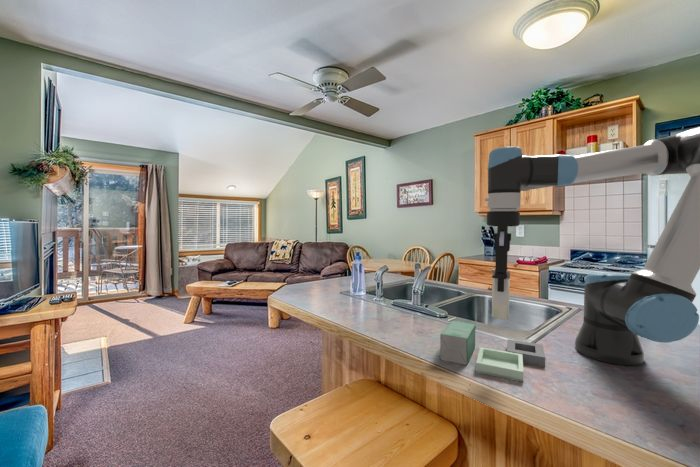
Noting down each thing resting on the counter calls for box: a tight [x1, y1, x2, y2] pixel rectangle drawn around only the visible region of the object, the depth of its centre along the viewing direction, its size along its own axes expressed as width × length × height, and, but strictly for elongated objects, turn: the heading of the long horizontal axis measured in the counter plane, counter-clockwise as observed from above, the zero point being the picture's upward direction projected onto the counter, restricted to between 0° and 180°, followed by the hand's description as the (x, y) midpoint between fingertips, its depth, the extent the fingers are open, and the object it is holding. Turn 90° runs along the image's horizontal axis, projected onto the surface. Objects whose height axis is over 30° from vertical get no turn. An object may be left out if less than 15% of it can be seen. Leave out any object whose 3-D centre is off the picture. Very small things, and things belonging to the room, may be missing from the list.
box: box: [439, 320, 476, 366], centre depth 92 cm, size 7×14×8 cm, turn 150°
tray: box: [475, 346, 524, 383], centre depth 83 cm, size 10×10×2 cm
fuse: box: [491, 269, 511, 320], centre depth 82 cm, size 4×4×12 cm
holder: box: [506, 338, 546, 368], centre depth 89 cm, size 9×9×2 cm
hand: (500, 301), depth 82 cm, fingers closed on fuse, 4 cm apart
